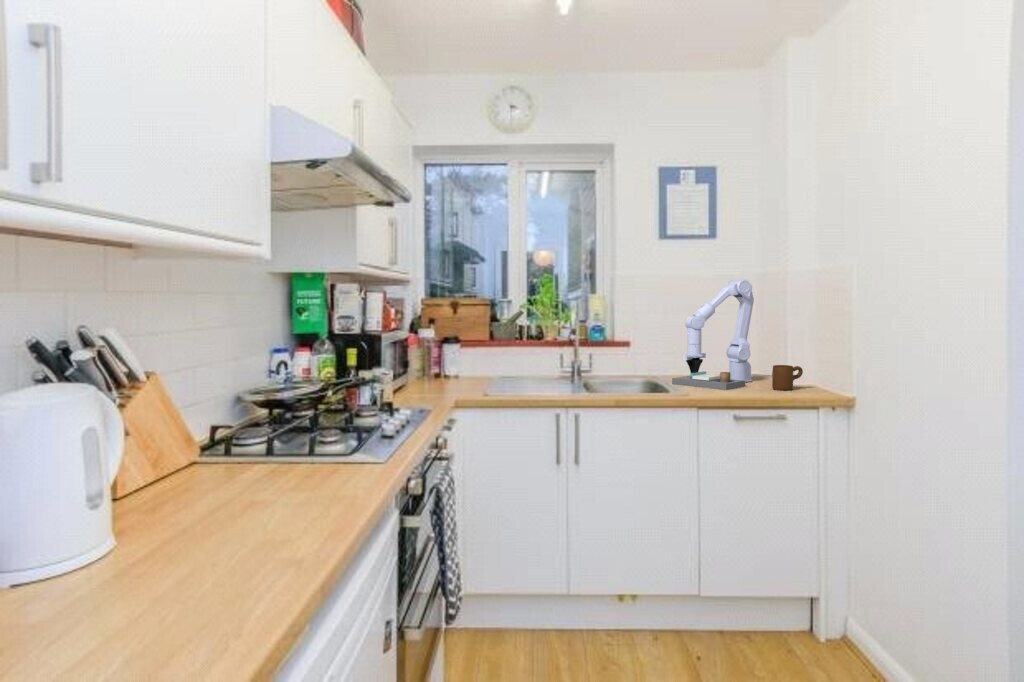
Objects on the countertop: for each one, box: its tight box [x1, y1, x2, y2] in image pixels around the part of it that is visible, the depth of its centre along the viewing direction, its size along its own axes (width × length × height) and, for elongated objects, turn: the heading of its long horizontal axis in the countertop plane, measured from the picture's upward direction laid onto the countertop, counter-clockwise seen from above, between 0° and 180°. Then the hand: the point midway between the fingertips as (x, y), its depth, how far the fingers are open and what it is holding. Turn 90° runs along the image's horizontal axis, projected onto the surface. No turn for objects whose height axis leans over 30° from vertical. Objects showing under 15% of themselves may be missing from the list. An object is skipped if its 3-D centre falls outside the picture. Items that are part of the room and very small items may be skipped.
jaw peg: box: [719, 371, 730, 382], centre depth 262 cm, size 4×4×6 cm
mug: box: [771, 364, 804, 392], centre depth 252 cm, size 12×8×9 cm, turn 96°
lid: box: [689, 370, 720, 380], centre depth 269 cm, size 10×9×2 cm
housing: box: [671, 375, 746, 391], centre depth 268 cm, size 14×26×3 cm, turn 39°
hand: (694, 375), depth 273 cm, fingers closed, pressing on lid
